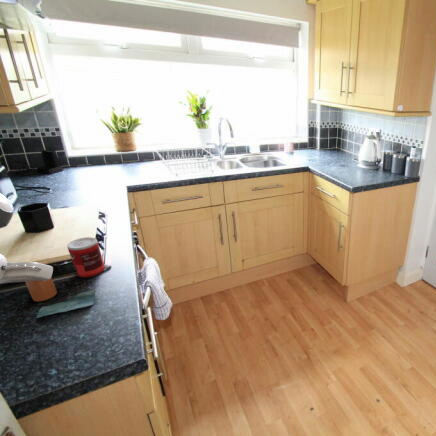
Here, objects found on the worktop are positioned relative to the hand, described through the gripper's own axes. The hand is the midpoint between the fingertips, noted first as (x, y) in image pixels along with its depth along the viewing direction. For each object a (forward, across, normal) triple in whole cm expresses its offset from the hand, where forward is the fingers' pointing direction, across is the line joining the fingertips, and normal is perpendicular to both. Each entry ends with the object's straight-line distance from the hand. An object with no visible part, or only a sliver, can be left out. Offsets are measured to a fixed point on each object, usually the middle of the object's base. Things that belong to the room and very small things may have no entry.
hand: (24, 279), depth 87 cm
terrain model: (+4, -10, +8) cm, 14 cm away
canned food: (+18, -7, -5) cm, 20 cm away
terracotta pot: (+9, 0, +3) cm, 10 cm away
